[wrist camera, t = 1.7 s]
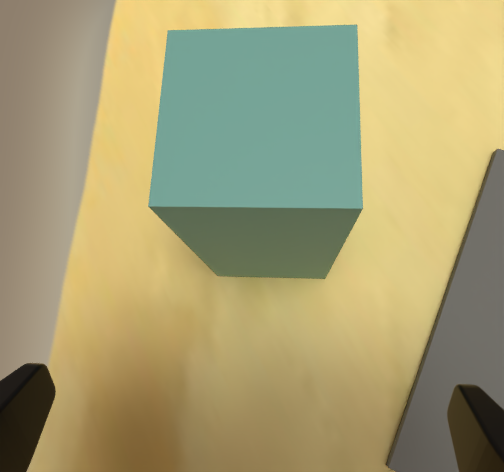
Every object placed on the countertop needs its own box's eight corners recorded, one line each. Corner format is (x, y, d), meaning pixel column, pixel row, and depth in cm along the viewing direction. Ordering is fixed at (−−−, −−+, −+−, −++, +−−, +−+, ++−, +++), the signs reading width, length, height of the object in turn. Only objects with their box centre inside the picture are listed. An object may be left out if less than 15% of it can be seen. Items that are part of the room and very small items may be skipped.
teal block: (325, 278, 23) (363, 208, 11) (217, 276, 23) (148, 206, 12) (324, 177, 24) (356, 24, 13) (223, 177, 25) (167, 30, 13)
